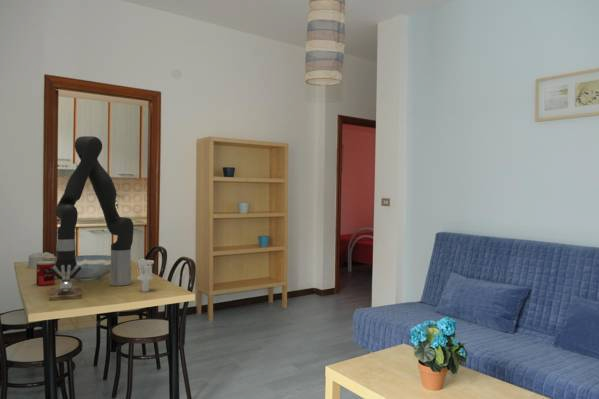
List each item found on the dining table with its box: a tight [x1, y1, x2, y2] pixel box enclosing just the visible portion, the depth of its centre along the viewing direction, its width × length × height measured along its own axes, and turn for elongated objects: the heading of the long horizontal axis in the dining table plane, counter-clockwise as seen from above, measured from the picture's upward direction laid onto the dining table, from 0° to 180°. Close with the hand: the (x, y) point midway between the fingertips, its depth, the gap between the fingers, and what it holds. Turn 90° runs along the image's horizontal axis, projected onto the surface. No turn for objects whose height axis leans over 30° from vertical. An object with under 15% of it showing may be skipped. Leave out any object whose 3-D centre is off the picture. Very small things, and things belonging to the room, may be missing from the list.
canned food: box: [36, 261, 56, 287], centre depth 224 cm, size 8×8×11 cm
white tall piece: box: [137, 258, 155, 293], centre depth 214 cm, size 7×7×15 cm
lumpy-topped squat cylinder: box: [27, 251, 55, 270], centre depth 274 cm, size 10×13×9 cm
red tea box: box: [42, 255, 58, 280], centre depth 236 cm, size 6×8×12 cm
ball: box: [59, 281, 73, 292], centre depth 201 cm, size 5×5×5 cm
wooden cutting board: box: [48, 285, 82, 302], centre depth 203 cm, size 12×20×2 cm, turn 26°
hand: (65, 288), depth 205 cm, fingers closed
